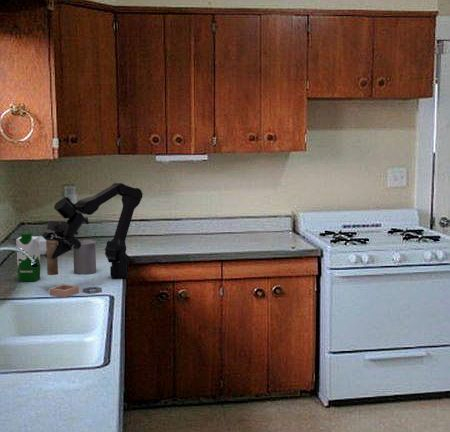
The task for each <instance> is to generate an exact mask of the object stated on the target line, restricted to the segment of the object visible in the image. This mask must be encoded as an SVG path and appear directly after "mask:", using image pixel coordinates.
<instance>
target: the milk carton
mask: <svg viewBox="0 0 450 432" xmlns="http://www.w3.org/2000/svg"><path fill="white" fill-rule="evenodd" d="M20 235H21V236H20V237H18V238H16V239H15V242H16V243H15V244H16V248H17V247H20V248H22V249H24V250H25V251H26V252H28V253H29V254H30V255H31V256H32V258H33V259H34V260H35V262H36V263H37V264H38V266H37V267H32V266H31V260H30V259H29V258H28V257H26V256H25V255H23V254H22V253H20V252H17V251H16V259H17V260H16V263H17V265H16V266H17V275H18V276H17V277H18V282H19V283H20V282H21V283H22V282H23V283H24V282H25V283H29V282H30V283H31V282H32V283H33V282H35V283H36V282H38V280H40V278H41V255H40V247H39V246H40V244H39V236H40V235H39V236H33V234H32V232H22V233H21V234H20Z"/></svg>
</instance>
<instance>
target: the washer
mask: <svg viewBox="0 0 450 432" xmlns="http://www.w3.org/2000/svg"><path fill="white" fill-rule="evenodd" d="M101 292H103V289H102V287H101V286H100V287H99V286H90V287H85V288H82V293H84V294H99V293H101Z"/></svg>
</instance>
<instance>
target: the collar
mask: <svg viewBox="0 0 450 432" xmlns="http://www.w3.org/2000/svg"><path fill="white" fill-rule="evenodd" d="M79 287H80V286H78V285H77V286H76V285H69V284H61V285H58V286H55V287H50V288H49V295H50V296H53V297H62V298H68V297H70V296H74V295H77V294H80V288H79Z"/></svg>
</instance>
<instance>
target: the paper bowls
mask: <svg viewBox="0 0 450 432" xmlns="http://www.w3.org/2000/svg"><path fill="white" fill-rule="evenodd" d="M46 241H47V240H45V239H44V238H43V237H42V235H41V236H40V235H39V244H40V246H39V247H40V256H45V254H46V251H47V250H46Z"/></svg>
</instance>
